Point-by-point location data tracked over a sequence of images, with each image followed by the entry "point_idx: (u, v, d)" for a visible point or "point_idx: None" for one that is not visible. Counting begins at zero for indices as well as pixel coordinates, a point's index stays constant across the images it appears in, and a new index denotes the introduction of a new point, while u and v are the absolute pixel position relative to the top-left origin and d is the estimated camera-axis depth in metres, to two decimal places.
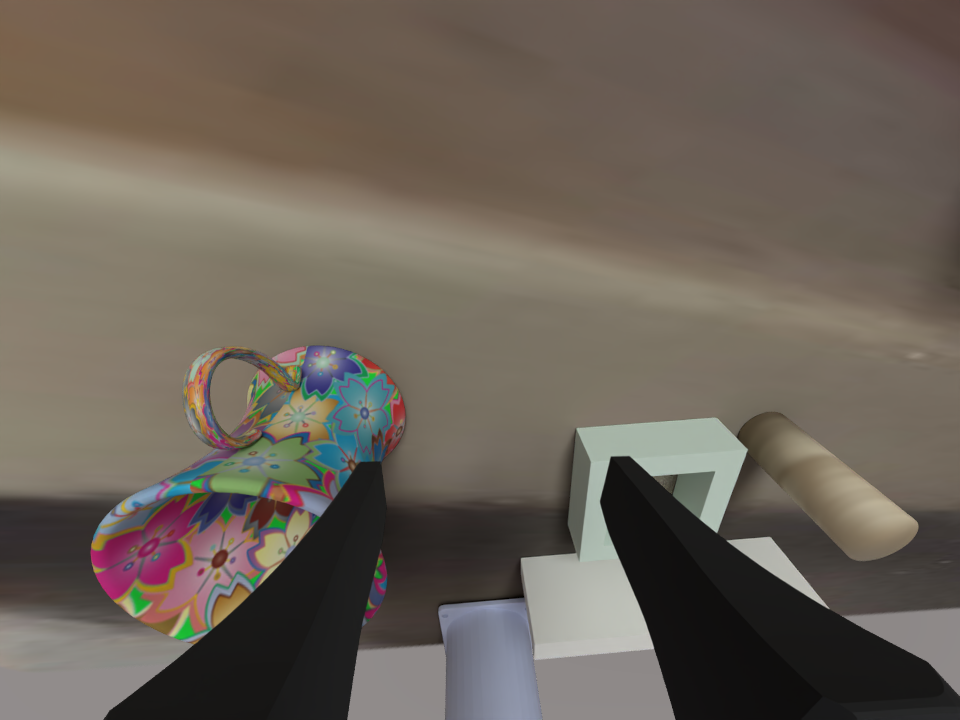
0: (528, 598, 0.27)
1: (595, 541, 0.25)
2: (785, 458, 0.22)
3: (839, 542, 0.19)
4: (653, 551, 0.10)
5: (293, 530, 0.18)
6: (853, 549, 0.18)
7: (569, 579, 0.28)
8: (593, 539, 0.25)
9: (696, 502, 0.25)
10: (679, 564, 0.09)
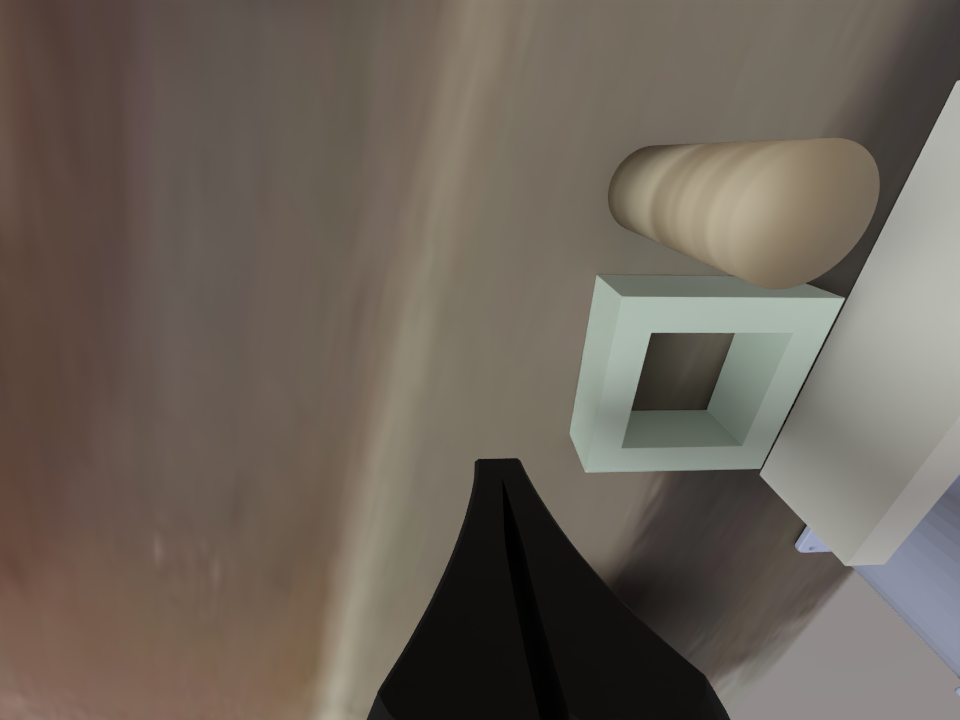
0: (799, 515, 0.21)
1: (727, 455, 0.19)
2: (655, 239, 0.13)
3: None
4: (514, 557, 0.09)
5: None
6: (805, 271, 0.09)
7: (808, 456, 0.20)
8: (722, 457, 0.19)
9: None
10: (523, 570, 0.08)
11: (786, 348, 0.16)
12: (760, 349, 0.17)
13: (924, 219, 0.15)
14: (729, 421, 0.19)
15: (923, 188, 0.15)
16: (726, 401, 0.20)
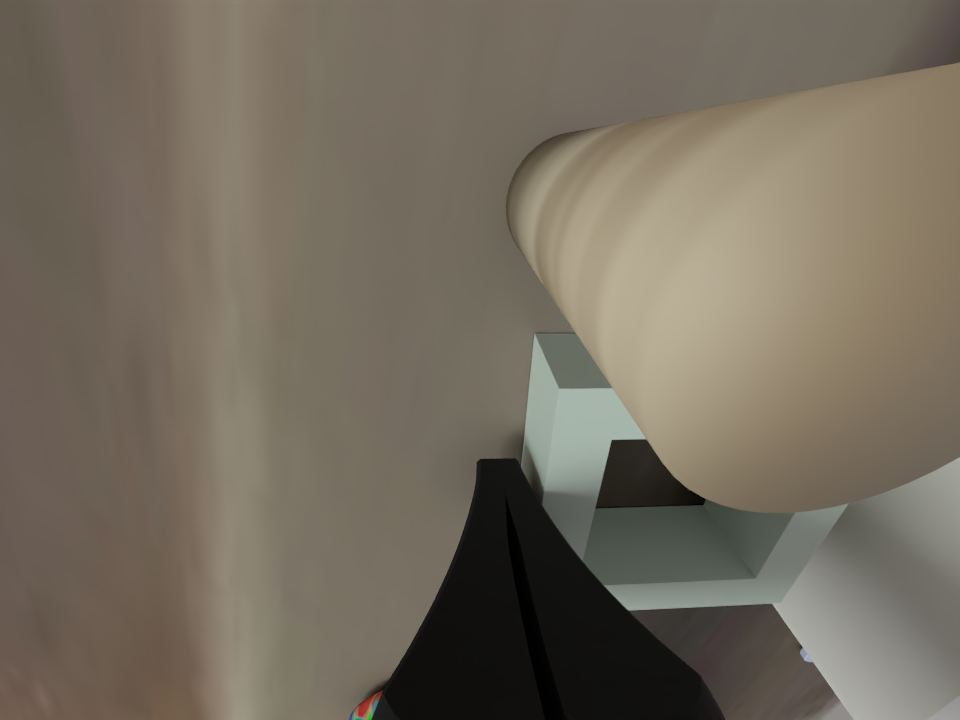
0: (809, 653, 0.15)
1: (733, 589, 0.13)
2: None
3: None
4: (512, 556, 0.09)
5: None
6: (871, 473, 0.03)
7: (822, 576, 0.15)
8: (727, 593, 0.13)
9: None
10: (520, 570, 0.08)
11: None
12: None
13: None
14: (736, 534, 0.13)
15: None
16: None
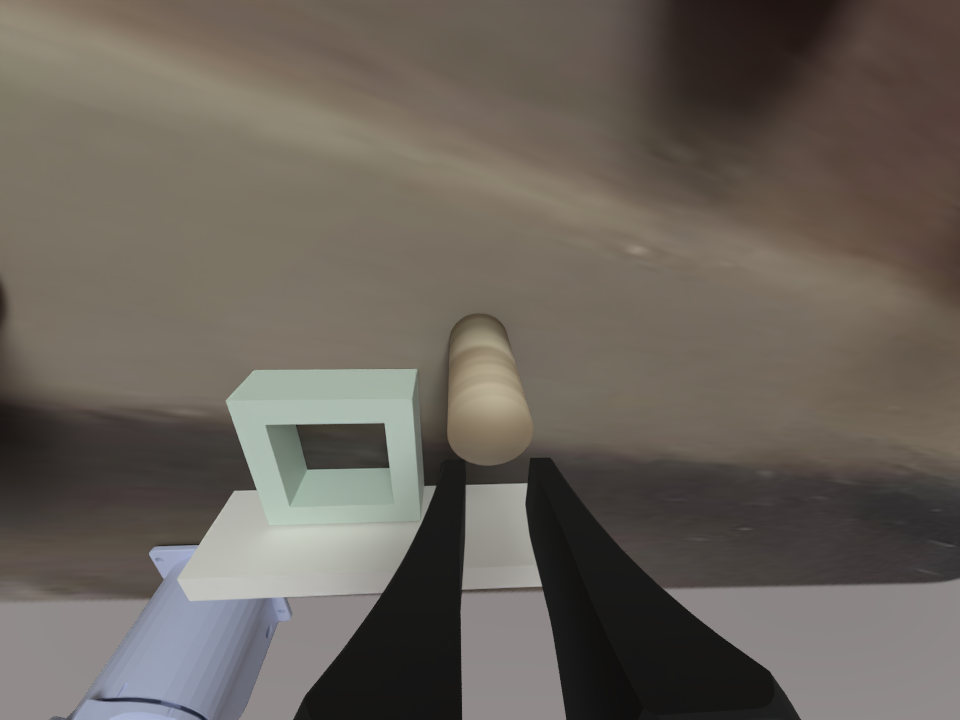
0: (209, 531, 0.23)
1: (277, 500, 0.22)
2: (454, 354, 0.18)
3: None
4: (555, 555, 0.09)
5: None
6: (459, 445, 0.14)
7: None
8: (274, 498, 0.22)
9: None
10: (568, 569, 0.08)
11: (381, 504, 0.23)
12: (374, 489, 0.24)
13: None
14: (306, 490, 0.23)
15: (480, 493, 0.26)
16: (322, 481, 0.24)
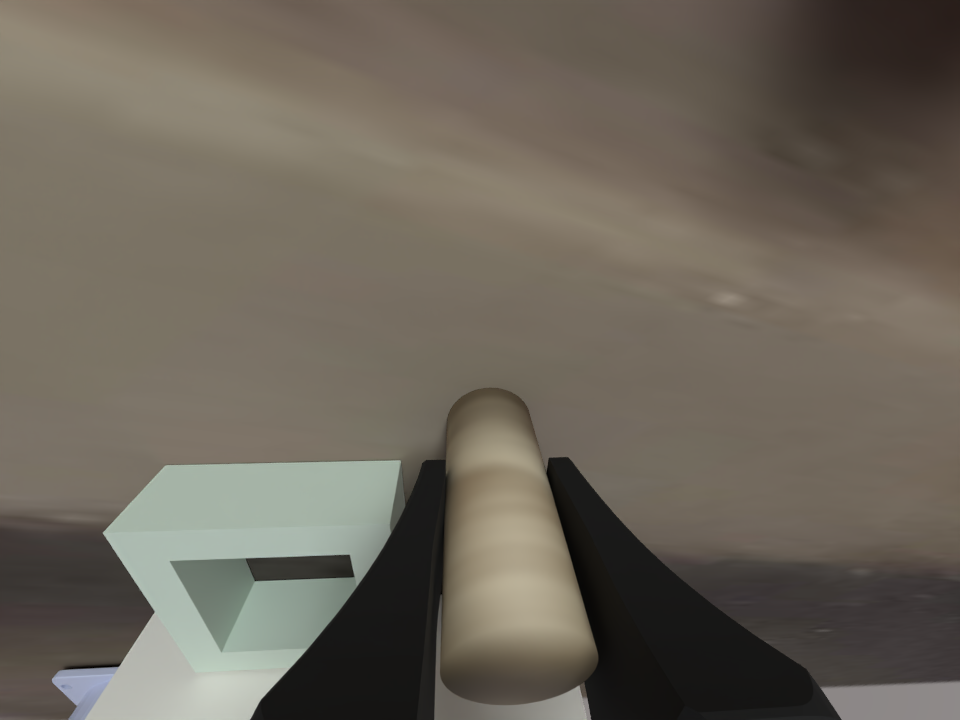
0: (110, 683, 0.16)
1: (203, 646, 0.16)
2: (453, 469, 0.11)
3: None
4: (577, 554, 0.09)
5: None
6: (462, 686, 0.08)
7: None
8: (197, 644, 0.15)
9: None
10: (594, 568, 0.08)
11: None
12: None
13: None
14: (249, 619, 0.17)
15: None
16: (273, 603, 0.18)
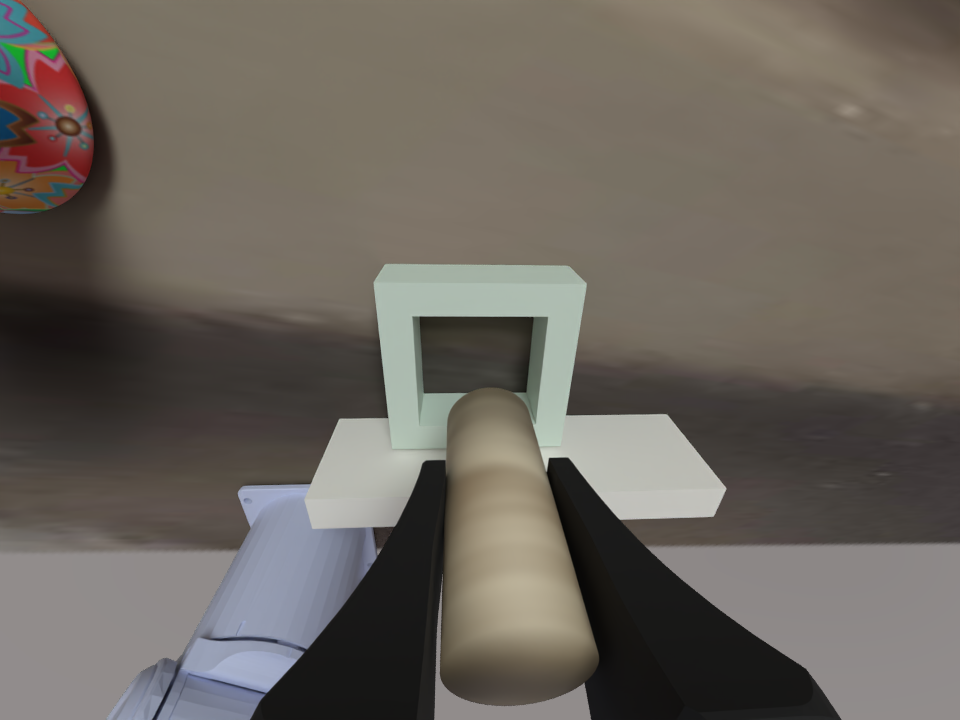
0: (325, 455, 0.20)
1: (407, 417, 0.19)
2: (453, 469, 0.11)
3: None
4: (577, 554, 0.09)
5: None
6: (462, 686, 0.08)
7: None
8: (403, 414, 0.19)
9: (538, 374, 0.19)
10: (594, 568, 0.08)
11: None
12: None
13: (600, 429, 0.22)
14: (431, 411, 0.21)
15: (614, 422, 0.23)
16: (445, 404, 0.21)
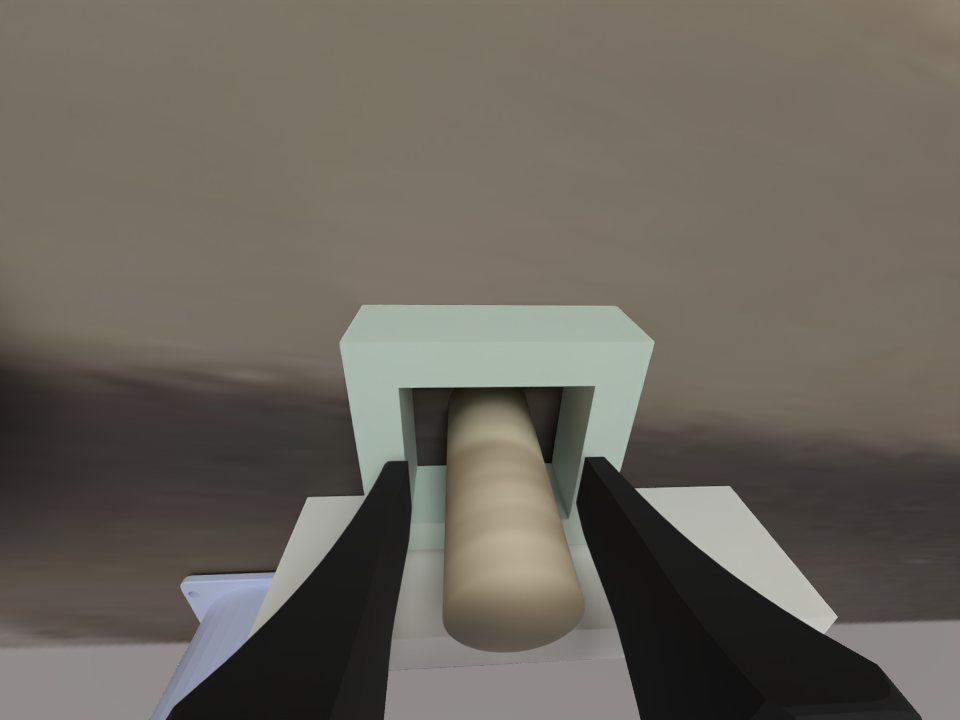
0: (282, 561, 0.15)
1: None
2: (454, 445, 0.12)
3: None
4: (622, 552, 0.10)
5: None
6: (462, 631, 0.09)
7: None
8: None
9: (574, 454, 0.14)
10: (644, 566, 0.08)
11: None
12: None
13: None
14: (426, 497, 0.15)
15: (665, 500, 0.18)
16: None
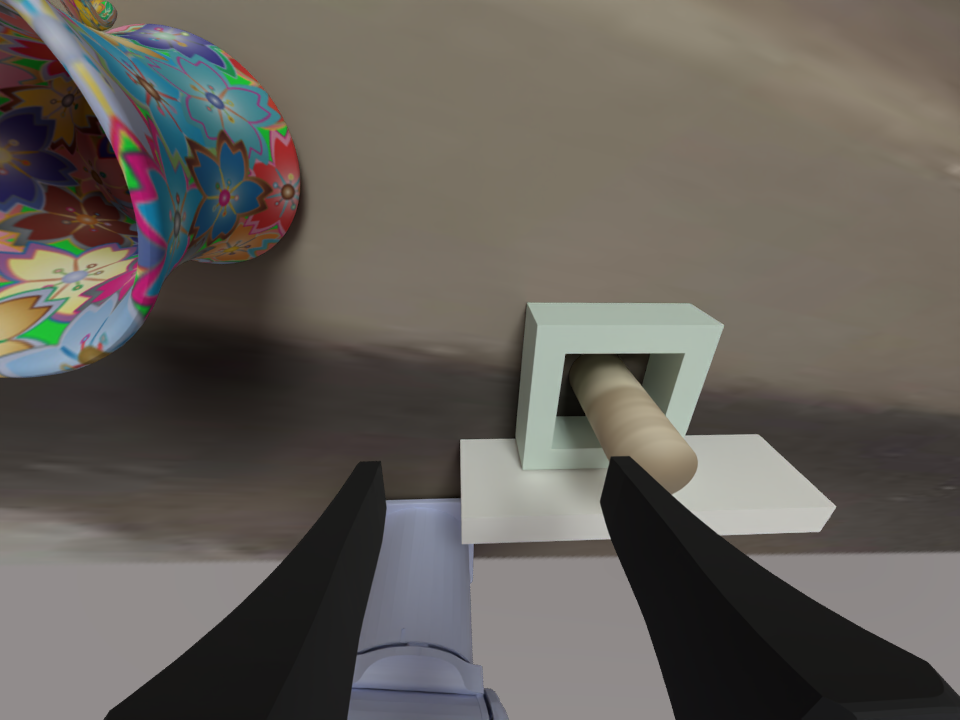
0: (462, 475, 0.22)
1: (542, 441, 0.21)
2: (594, 391, 0.19)
3: None
4: (653, 551, 0.10)
5: (92, 260, 0.12)
6: None
7: (516, 460, 0.23)
8: (539, 439, 0.21)
9: (661, 402, 0.21)
10: (679, 564, 0.09)
11: None
12: None
13: (702, 449, 0.24)
14: (555, 434, 0.22)
15: (713, 442, 0.25)
16: (565, 427, 0.23)
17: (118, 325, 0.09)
